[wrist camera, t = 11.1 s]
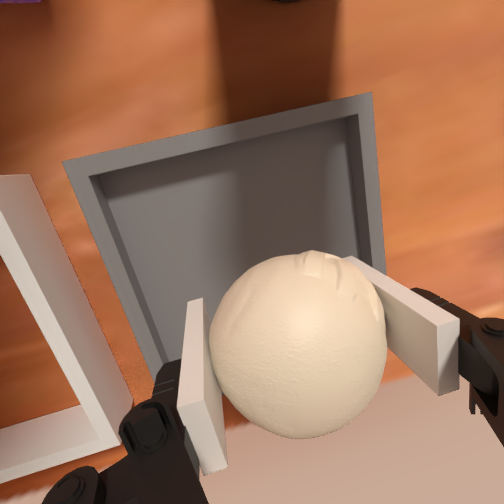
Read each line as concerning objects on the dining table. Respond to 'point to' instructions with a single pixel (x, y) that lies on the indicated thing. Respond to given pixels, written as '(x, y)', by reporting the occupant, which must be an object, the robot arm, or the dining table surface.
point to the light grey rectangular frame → (57, 341)
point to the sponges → (20, 1)
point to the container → (286, 0)
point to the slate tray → (229, 209)
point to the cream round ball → (300, 344)
